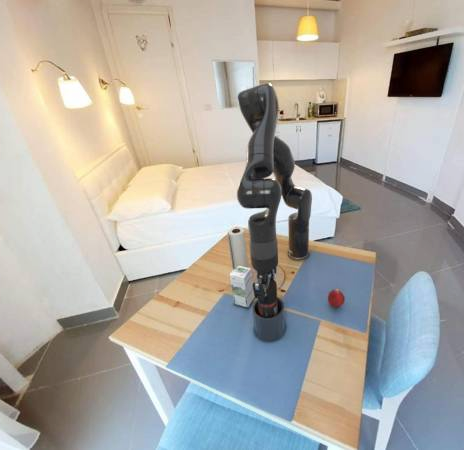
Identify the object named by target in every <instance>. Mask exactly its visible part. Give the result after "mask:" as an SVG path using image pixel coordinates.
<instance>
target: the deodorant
mask: <svg viewBox="0 0 464 450" xmlns="http://www.w3.org/2000/svg"><path fill="white" fill-rule="evenodd" d="M261 284H263V285H266V284H267V283H261ZM263 290H264V289H263ZM277 297H278V287H277V282H276V280H275V278H274V279H271V278H270V283H269V288H268V289H267V302H268V303H267V305H263V304H260V301H259V299H258V298H257V299H258V306H259V316H260V317H264V318H272V317H274V316H276V315H278V304H277Z"/></svg>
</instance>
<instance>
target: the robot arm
mask: <svg viewBox="0 0 464 450" xmlns="http://www.w3.org/2000/svg"><path fill="white" fill-rule="evenodd" d="M237 104H238V108H239V110H240V113H241V115H242V117H243V119H244V121H245V123H246V124H247V126H248V128H249V129H250V131H251V133H252V134H251V136H250V138H249V139H248V143H247V145H246V154H245V155H246V156H245V157H246V158H245V167H244V170H243V173H242V176H241V178H240V180H239V182H238V186H237V188H236V199H237V203H238V204H239V205H240V206H241V208H244V209H248V210H250V209H252V210H253V209H265V210H262V211H259V212H255V213H253V214H252V215H250V216H249V217H248V218H247V226H248V237H249V241H248V244H249V245H248V246H249V255H250V264H251V268H252V269H253V270H255V271H256V282H252V283H253V285H252V286H253V292H254V299H259V301H260V304H263V305H267V303H268V302H267V289H268V288H269V283H270V278H271V279H274V280H275V279H276V274H277V272H278V271H277V267H278V266H279V250H278V249H279V248H278V246H279V245H278V239H277V225H276V224H277V214H278V210H279V206H280V203H281V201H282V200H283V202H284V204H285V205H286V206H287V207H289V208H291V209H294V210H297V212H293V213H291V214H289V216H288V219H287V224H288V226H287V228H288V229H287V230H288V248H287V251H288V257H290V258H291V259H292V260H296V261H300V260H305V259H306V258H308V257H309V245H310V243H309V240H310V239H309V238H310V220H311V216H312V215H311V214H312V203H313V194H312V191H311V190H310V189H308V188H305V187H300V186H297V185H295V184H294V181H293V179H292V175H293V174H294V170H295V167H296V162H295V157H294V155H293V153H292V151H291V148H290V146H289V145H288V144H287V142H285V141H284V140H282V139H281V138H279V137H278V136H277V135H276V132H277V131H276V130H277V126H278V121H279V113H280V104H279V98H278V95H277V92H276V90H275V88H274V86H273V85H272V84H271V83H267V82H265V83H261V84H259V85H256V86H253V87H250V88H247V89H243V90H242V91H240V92H239V93H238V94H237ZM272 174H273V177H274V178H271V177H270V176H272ZM269 177H270V178H269ZM261 283H267V284H266V285H263V284H261ZM263 289H264V290H263Z"/></svg>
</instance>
